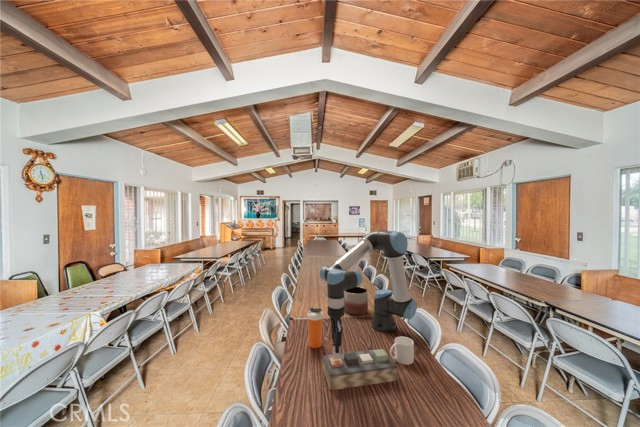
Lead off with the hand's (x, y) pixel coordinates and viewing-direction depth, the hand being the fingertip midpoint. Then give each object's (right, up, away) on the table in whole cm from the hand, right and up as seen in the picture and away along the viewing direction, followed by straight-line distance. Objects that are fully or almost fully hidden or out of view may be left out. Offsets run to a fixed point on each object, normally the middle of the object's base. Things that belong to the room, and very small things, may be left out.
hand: (336, 358), depth 111 cm
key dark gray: (+7, -4, +1) cm, 8 cm away
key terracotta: (0, -5, 0) cm, 5 cm away
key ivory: (+14, -5, +2) cm, 15 cm away
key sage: (+20, -4, +4) cm, 21 cm away
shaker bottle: (-10, -9, +28) cm, 31 cm away
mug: (+33, -9, +14) cm, 37 cm away
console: (+10, -9, +2) cm, 13 cm away
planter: (+19, -8, +75) cm, 78 cm away
